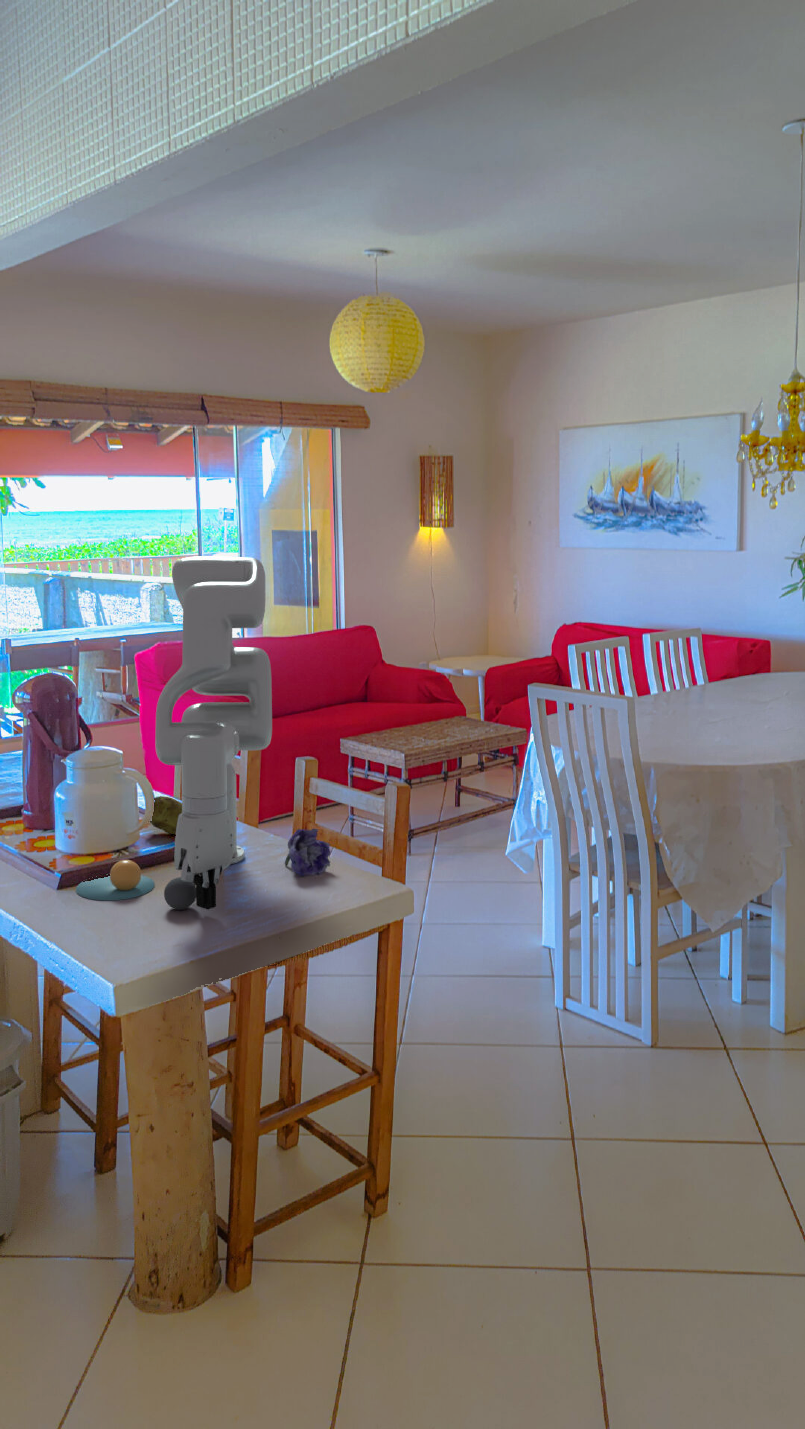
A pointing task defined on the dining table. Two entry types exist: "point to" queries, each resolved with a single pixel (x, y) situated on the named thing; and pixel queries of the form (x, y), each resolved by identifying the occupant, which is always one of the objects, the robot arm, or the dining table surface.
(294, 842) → the flower
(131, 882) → the object ball
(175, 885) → the dark grey ball
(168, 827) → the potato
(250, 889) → the dining table surface
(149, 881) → the teal flat disc
